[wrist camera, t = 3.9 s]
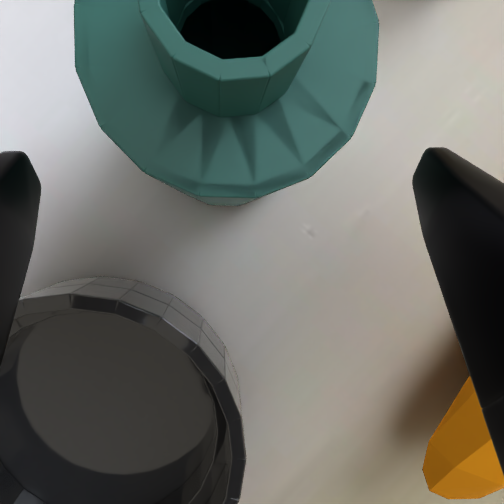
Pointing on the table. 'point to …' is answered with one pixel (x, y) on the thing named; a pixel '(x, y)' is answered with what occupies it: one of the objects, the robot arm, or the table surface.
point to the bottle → (227, 87)
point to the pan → (117, 400)
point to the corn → (462, 452)
